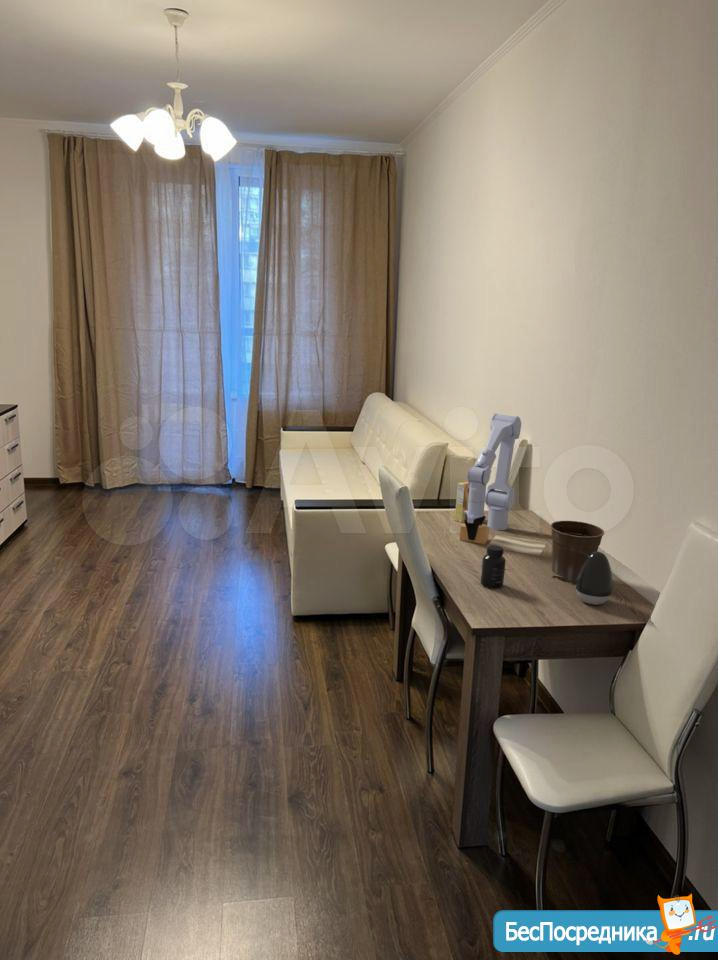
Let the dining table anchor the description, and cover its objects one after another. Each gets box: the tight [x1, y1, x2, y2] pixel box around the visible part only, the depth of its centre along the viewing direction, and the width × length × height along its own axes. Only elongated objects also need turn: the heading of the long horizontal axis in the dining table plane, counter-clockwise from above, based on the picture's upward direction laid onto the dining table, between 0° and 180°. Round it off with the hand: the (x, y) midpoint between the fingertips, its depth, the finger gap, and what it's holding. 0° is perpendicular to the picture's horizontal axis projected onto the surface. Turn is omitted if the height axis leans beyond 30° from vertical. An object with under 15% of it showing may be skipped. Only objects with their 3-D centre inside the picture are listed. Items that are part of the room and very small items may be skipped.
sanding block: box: [459, 522, 490, 545], centre depth 260 cm, size 5×9×6 cm, turn 67°
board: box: [486, 534, 548, 557], centre depth 258 cm, size 16×18×2 cm
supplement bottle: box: [480, 545, 506, 589], centre depth 221 cm, size 7×7×12 cm
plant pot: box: [550, 520, 605, 584], centre depth 231 cm, size 16×16×16 cm
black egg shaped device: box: [575, 551, 614, 606], centre depth 212 cm, size 10×10×15 cm
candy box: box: [454, 480, 469, 523], centre depth 288 cm, size 9×4×15 cm, turn 129°
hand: (473, 537), depth 260 cm, fingers closed on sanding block, 5 cm apart
